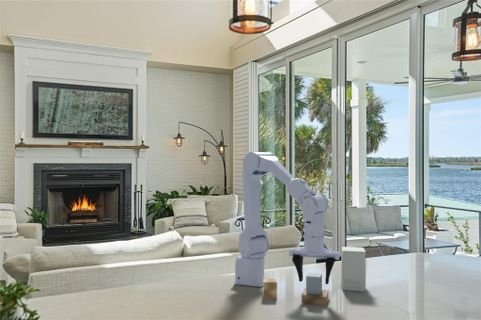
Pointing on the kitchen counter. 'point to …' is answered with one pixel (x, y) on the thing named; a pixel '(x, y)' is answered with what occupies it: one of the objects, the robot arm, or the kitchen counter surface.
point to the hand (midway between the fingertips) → (313, 282)
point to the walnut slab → (315, 298)
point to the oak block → (270, 288)
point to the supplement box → (353, 268)
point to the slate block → (314, 283)
